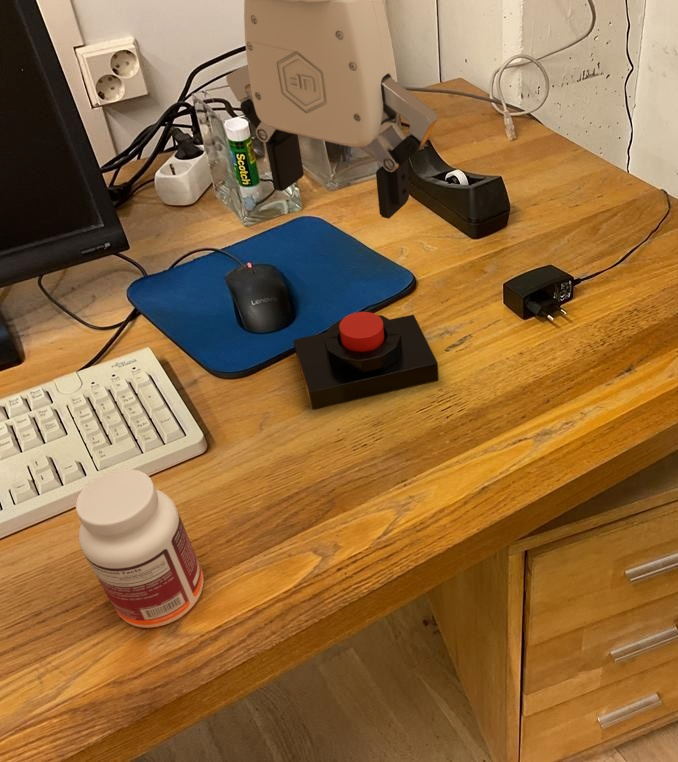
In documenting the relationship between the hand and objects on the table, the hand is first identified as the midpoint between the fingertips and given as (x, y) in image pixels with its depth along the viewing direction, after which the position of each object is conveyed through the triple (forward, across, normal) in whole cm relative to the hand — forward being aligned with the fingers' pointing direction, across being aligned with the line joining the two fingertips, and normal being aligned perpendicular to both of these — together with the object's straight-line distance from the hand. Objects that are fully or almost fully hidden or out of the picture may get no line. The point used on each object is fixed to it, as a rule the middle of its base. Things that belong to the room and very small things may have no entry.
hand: (340, 196), depth 64 cm
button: (+16, 0, +1) cm, 16 cm away
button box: (+19, 0, +1) cm, 19 cm away
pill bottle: (+19, -1, -27) cm, 33 cm away
